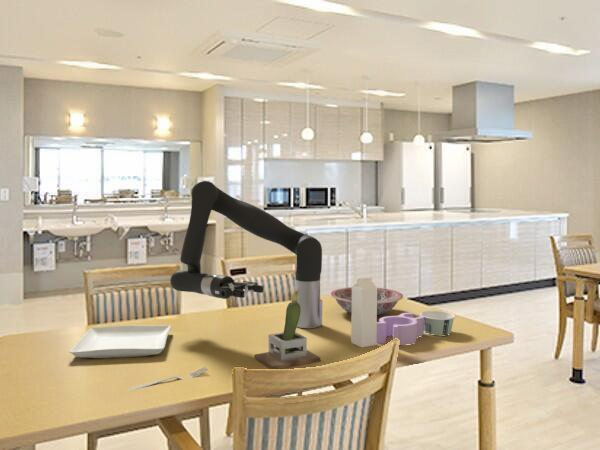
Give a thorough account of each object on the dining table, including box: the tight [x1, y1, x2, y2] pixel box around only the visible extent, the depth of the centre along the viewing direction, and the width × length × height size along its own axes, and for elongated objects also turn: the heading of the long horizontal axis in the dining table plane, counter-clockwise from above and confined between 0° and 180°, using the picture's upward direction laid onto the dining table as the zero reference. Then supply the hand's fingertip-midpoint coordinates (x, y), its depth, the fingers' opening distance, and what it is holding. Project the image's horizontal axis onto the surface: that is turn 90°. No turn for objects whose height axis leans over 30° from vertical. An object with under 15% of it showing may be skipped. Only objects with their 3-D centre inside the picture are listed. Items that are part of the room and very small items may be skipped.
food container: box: [419, 310, 456, 336], centre depth 184 cm, size 12×12×6 cm
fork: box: [127, 366, 209, 391], centre depth 138 cm, size 3×24×2 cm, turn 124°
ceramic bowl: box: [330, 286, 404, 316], centre depth 211 cm, size 29×29×8 cm
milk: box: [350, 276, 378, 348], centre depth 170 cm, size 6×6×22 cm
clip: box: [376, 312, 425, 345], centre depth 177 cm, size 20×12×7 cm, turn 138°
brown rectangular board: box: [254, 346, 322, 370], centre depth 156 cm, size 16×12×1 cm
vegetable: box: [282, 290, 301, 353], centre depth 158 cm, size 4×4×20 cm
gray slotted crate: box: [268, 331, 308, 363], centre depth 156 cm, size 8×8×6 cm
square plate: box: [69, 324, 173, 359], centre depth 168 cm, size 27×27×4 cm
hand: (253, 291), depth 163 cm, fingers open, 8 cm apart
